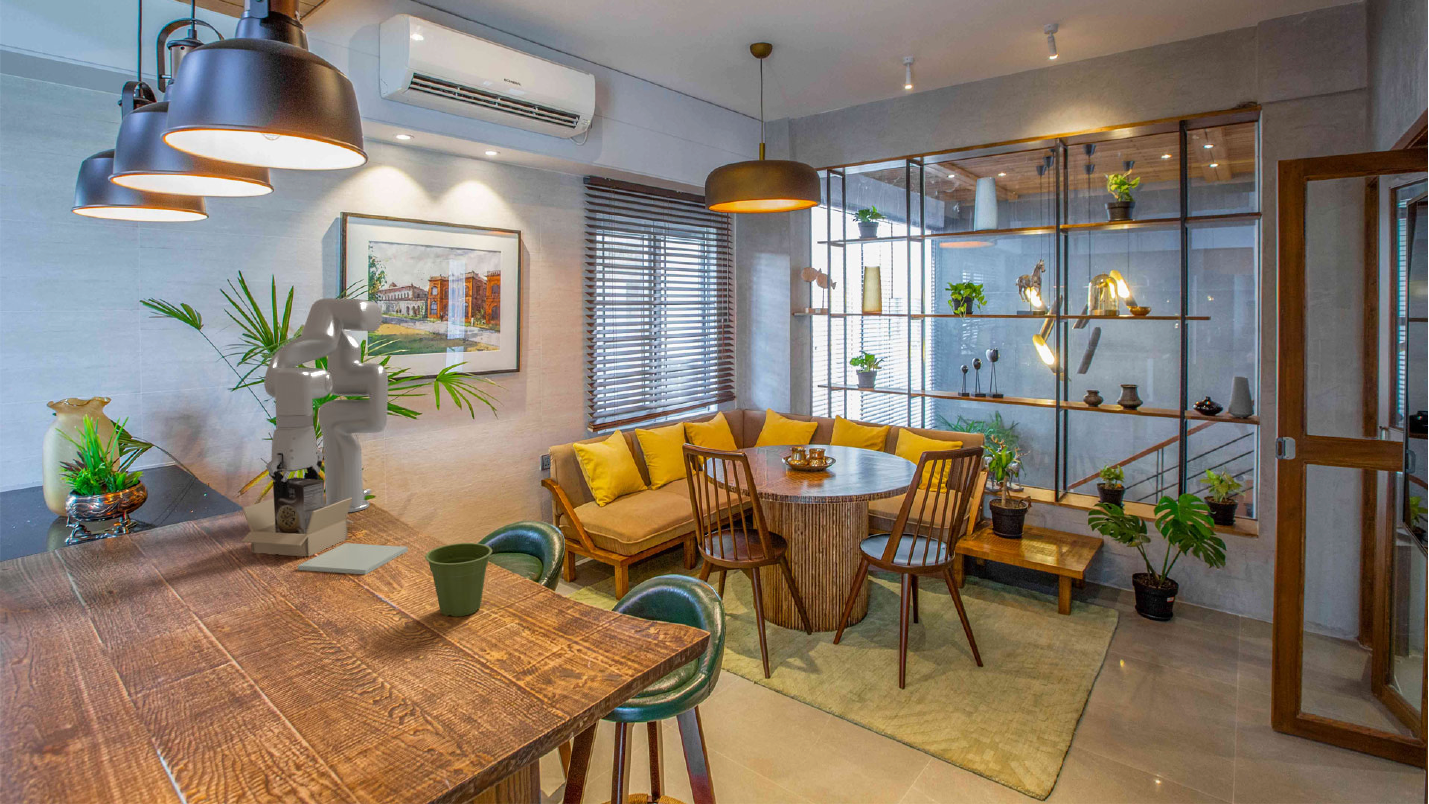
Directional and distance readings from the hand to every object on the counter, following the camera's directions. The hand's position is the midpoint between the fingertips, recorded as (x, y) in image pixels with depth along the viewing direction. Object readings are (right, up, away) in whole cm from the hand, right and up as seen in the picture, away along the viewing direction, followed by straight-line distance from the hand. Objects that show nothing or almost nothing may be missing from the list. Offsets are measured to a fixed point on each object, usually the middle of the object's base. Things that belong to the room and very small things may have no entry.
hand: (297, 493), depth 166 cm
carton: (0, -13, +2) cm, 13 cm away
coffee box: (0, -13, +2) cm, 13 cm away
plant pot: (+51, -18, -34) cm, 64 cm away
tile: (+18, -14, -7) cm, 24 cm away
